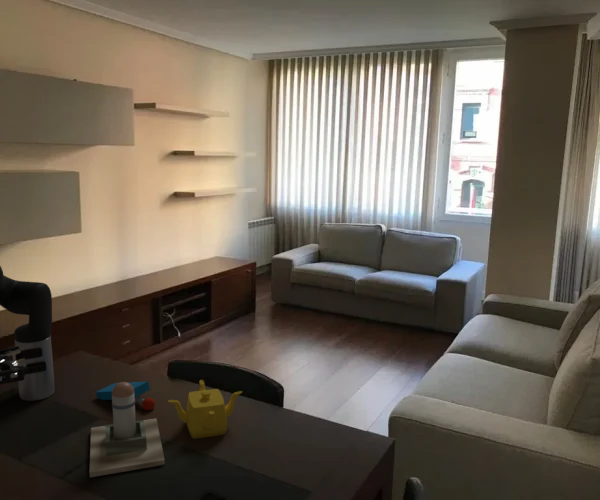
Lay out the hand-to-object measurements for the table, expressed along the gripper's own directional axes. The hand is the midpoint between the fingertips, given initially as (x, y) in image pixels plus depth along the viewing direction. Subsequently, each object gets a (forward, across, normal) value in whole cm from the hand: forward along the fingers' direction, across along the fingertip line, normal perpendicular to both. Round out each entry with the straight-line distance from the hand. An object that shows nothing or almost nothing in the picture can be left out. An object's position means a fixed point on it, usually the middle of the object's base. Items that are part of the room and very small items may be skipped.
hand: (44, 358), depth 122 cm
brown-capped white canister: (+16, -4, +23) cm, 28 cm away
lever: (+22, +20, +26) cm, 39 cm away
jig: (+16, -4, +25) cm, 29 cm away
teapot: (+36, -4, +25) cm, 44 cm away
